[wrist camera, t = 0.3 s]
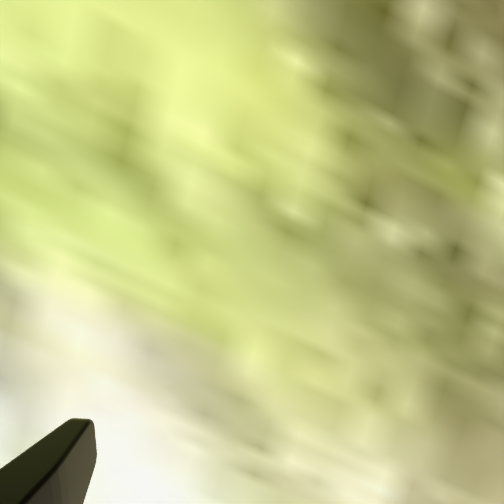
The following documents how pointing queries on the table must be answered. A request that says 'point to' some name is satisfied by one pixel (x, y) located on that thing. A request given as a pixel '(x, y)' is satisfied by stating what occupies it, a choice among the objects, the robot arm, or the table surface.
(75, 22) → the table surface
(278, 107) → the table surface
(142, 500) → the table surface
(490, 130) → the table surface
